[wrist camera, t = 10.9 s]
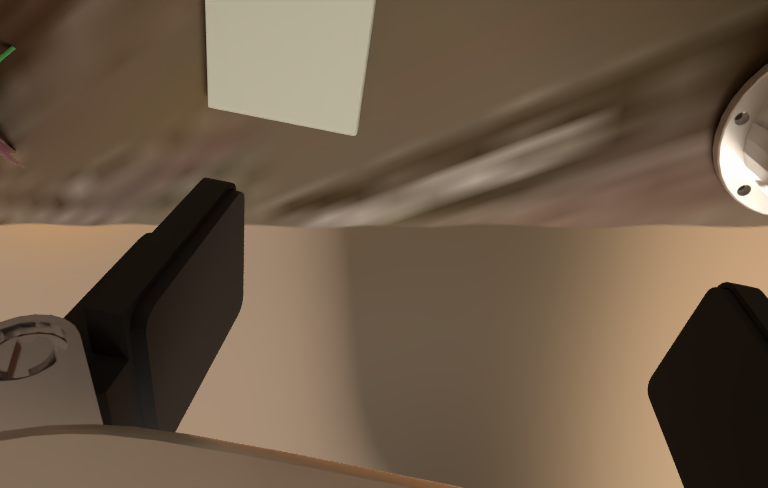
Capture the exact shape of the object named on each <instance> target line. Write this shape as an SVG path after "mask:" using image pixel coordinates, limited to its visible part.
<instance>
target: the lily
mask: <svg viewBox="0 0 768 488" xmlns="http://www.w3.org/2000/svg"><path fill="white" fill-rule="evenodd" d="M14 50H15V47H13V46H11V47H10V48H9V49H7V50H6V51H5V52H4V53H2V54H1V55H0V61H2V60H3V59H4V58H5V57H6V56H8V55H9V54H10V53H11V52H13V51H14ZM7 152H8V153H16V151H15V150H14V149H12V148H11V147H9V146H8V145H6V144H4V143H2V142H1V141H0V155H1V156H2V157H4V158H6V159H7V160H9V161H11V162H13V163H14V164H16V165H18V166H20V167H22V168H25V167H24V166H23V165H21V164H20V163H19V162H18V161H16V160H15V159H14V158H13V157H12V156H10V155H9V154H8V153H7ZM25 169H26V168H25Z"/></svg>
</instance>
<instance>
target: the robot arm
mask: <svg viewBox="0 0 768 488" xmlns="http://www.w3.org/2000/svg"><path fill="white" fill-rule="evenodd" d="M738 114H739V115H738ZM737 115H738V116H737ZM736 116H737V117H736ZM713 165H714V168H715V171H716V174H717V177H718V179H719V181H720V182H721V184H722V185H723V187H724V188H725V190H726V191H727V192H728V193H729V194H730V195H731V196H732V197H733V198H734V199H735V200H736V201H738V202H739V203H741V204H742V205H743V206H745V207H746V208H748V209H751V210H753V211H756V212H758V213H760V214H764V215H768V64H766V65H765V66H763V67H762V68H761V69H760V70H759V71H758V72H757V73H756V74H754V75H753V76H752V77H751V78H750V79H749V80H748V81H747V82H746V83H745V84H744V85H743V86H742V88H741V89H740V90H739V91H738V92H737V94H736V95H735V96H734V97H733V98H732V100H731V102H730V103H729V105H728V107H727V108H726V110H725V112H724V113H723V115H722V117H721V119H720V122H719V125H718V127H717V130H716V133H715V138H714V144H713ZM243 267H244V194H243V193H242V192H239V191H236V187H235V184H234V183H230V182H225V181H220V180H215V179H210V178H203V179H202V180H201V181H200V182H199V183H198V184H197V185H196V186H195V187H194V188H193V190H192V191H191V192H190V193H189V194H188V195H187V196H186V197H185V198H184V199H183V200H182V201H181V202H180V203H179V205H178V206H177V207H176V208H175V209H174V210H173V211H172V212H171V213H170V214H169V215H168V216H167V217H166V218H165V219H164V221H163V222H162V223H161V224H160V225H159V226H158V227H157V228H156V229H155V230H154V231H153V232H152V233H146V234H145V235H144V236H142V237H141V238H140V239H139V240H138V241H137V242H136V243H135V244H134V245H133V246H132V247H131V248H130V249H129V250H128V251H127V252H126V253H125V254H124V256H123V257H122V258H121V259H120V260H119V261H118V262H117V263H116V264H115V265H114V266H113V267H112V268H111V269H110V270H109V271H108V272H107V273H106V274H105V275H104V277H102V279H101V280H100V281H99V282H98V283H97V284H96V285H95V286H94V287H93V288H92V289H91V290H90V291H89V292H88V293H87V294H86V295H85V296H84V297H83V298H82V299H81V300H80V301H79V303H78V304H77V305H76V306H75V307H74V308H73V309H72V310H71V311H70V312H69V313H68V314H67V315H66V316H65V317H64V318H60V317H56V316H53V315H37V314H36V315H28V316H20V317H16V318H12V319H9V320H6V321H3V322H0V488H462V487H457V486H452V485H448V484H443V483H437V482H432V481H427V480H423V479H418V478H412V477H407V476H403V475H398V474H393V473H388V472H382V471H377V470H372V469H368V468H362V467H358V466H352V465H347V464H343V463H337V462H333V461H328V460H322V459H317V458H312V457H307V456H303V455H298V454H293V453H288V452H282V451H277V450H271V449H266V448H260V447H255V446H250V445H244V444H238V443H233V442H228V441H222V440H217V439H211V438H205V437H200V436H195V435H189V434H183V433H176V432H175V431H176V430H177V428H178V426H179V424H180V422H181V420H182V418H183V416H184V414H185V413H186V411H187V409H188V407H189V405H190V403H191V402H192V400H193V398H194V396H195V394H196V392H197V390H198V389H199V387H200V385H201V383H202V381H203V379H204V377H205V375H206V374H207V372H208V370H209V368H210V366H211V364H212V362H213V361H214V359H215V357H216V355H217V353H218V351H219V349H220V348H221V346H222V344H223V342H224V340H225V338H226V336H227V335H228V333H229V331H230V329H231V327H232V325H233V323H234V321H235V319H236V318H237V316H238V313H239V312H240V309H241V305H242V301H243V271H244V268H243ZM648 396H649V399H650V401H651V404H652V407H653V409H654V412H655V414H656V417H657V419H658V422H659V424H660V427H661V430H662V432H663V434H664V437H665V440H666V442H667V445H668V447H669V450H670V452H671V455H672V458H673V460H674V462H675V465H676V468H677V470H678V473H679V476H680V478H681V481H682V483H683V485H684V488H768V298H767V297H766V296H765V295H764V293H763V292H762V291H761V290H759V289H757V288H754V287H749V286H744V285H739V284H734V283H729V282H725V283H722V284H720V285H719V286H718V287H715V288H711V289H710V290H709V291H708V292H707V293H706V294H705V296H704V297H703V299H702V300H701V302H700V304H699V305H698V306H697V308H696V310H695V311H694V313H693V314H692V316H691V317H690V319H689V320H688V322H687V323H686V325H685V327H684V328H683V330H682V331H681V333H680V334H679V335H678V337H677V339H676V340H675V342H674V343H673V345H672V346H671V348H670V349H669V351H668V352H667V354H666V355H665V357H664V358H663V360H662V362H661V363H660V365H659V366H658V368H657V369H656V371H655V372H654V374H653V375H652V377H651V379H650V381H649V384H648Z"/></svg>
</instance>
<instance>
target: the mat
mask: <svg viewBox="0 0 768 488" xmlns="http://www.w3.org/2000/svg"><path fill="white" fill-rule="evenodd" d="M375 3H376V0H205V10H206V45H207V79H208V107H210V108H215V109H220V110H225V111H230V112H235V113H240V114H245V115H250V116H256V117H261V118H266V119H271V120H276V121H281V122H286V123H291V124H296V125H301V126H306V127H311V128H316V129H321V130H326V131H331V132H337V133H342V134H347V135H352V136H356V134H357V132H358V125H359V118H360V111H361V104H362V97H363V89H364V82H365V75H366V68H367V61H368V53H369V46H370V39H371V32H372V25H373V18H374V10H375Z"/></svg>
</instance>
